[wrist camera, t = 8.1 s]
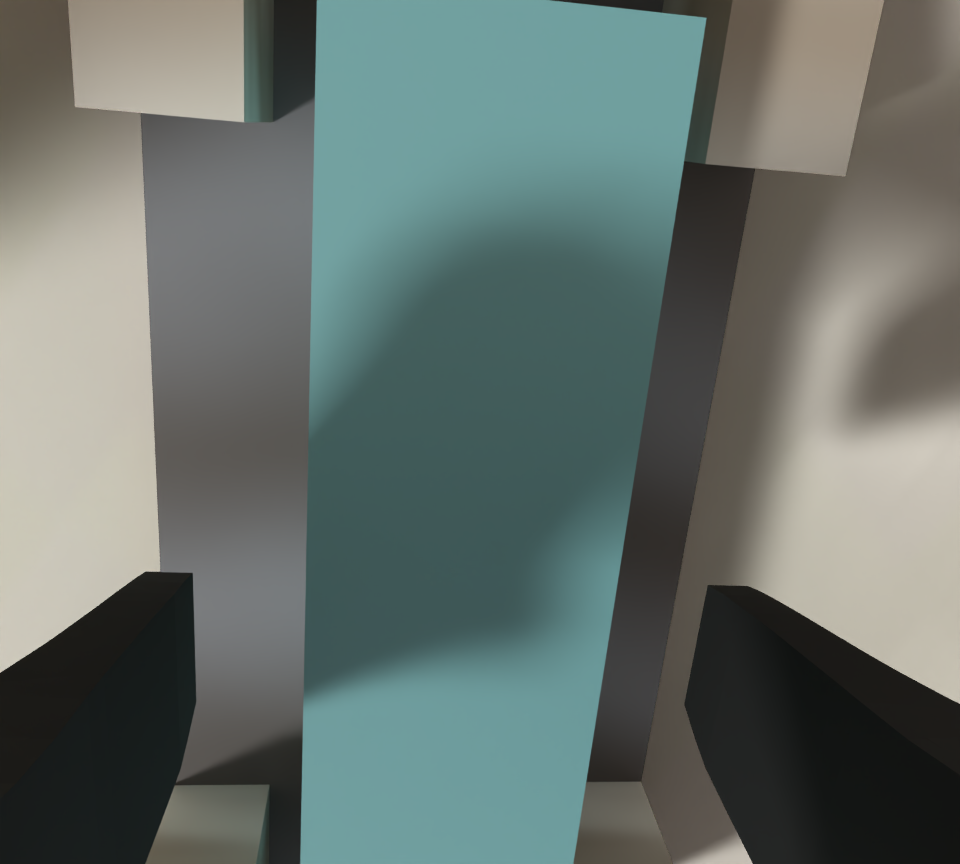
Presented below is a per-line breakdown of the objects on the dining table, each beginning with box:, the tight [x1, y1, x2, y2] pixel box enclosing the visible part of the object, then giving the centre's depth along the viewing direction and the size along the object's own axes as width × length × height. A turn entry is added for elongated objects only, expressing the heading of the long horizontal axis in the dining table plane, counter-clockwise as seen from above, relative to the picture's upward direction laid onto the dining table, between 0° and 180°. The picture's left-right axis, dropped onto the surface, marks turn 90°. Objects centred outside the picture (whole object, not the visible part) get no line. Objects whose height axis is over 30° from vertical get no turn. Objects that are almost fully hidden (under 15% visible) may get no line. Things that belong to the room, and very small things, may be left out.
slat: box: [300, 0, 707, 864], centre depth 14 cm, size 16×4×5 cm, turn 175°
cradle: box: [68, 0, 884, 864], centre depth 15 cm, size 22×10×4 cm, turn 175°
